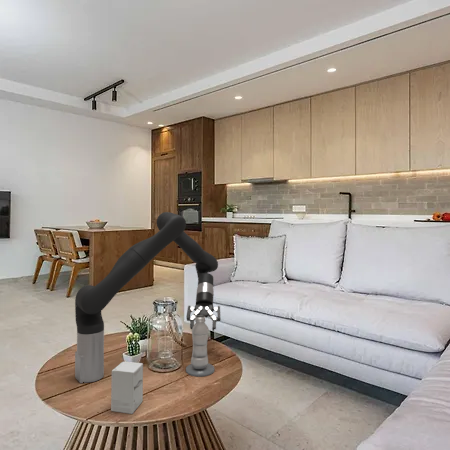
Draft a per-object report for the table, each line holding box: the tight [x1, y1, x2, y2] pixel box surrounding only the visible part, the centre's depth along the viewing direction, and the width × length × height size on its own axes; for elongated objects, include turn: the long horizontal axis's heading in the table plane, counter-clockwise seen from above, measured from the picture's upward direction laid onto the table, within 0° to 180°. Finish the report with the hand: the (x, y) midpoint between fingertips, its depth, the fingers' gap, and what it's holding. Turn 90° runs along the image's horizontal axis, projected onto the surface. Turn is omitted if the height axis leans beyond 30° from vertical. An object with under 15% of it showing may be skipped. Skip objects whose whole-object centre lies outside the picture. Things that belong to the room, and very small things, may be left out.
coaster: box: [185, 362, 215, 378], centre depth 137 cm, size 11×11×1 cm
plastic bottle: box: [190, 315, 210, 369], centre depth 137 cm, size 6×7×20 cm
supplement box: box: [110, 361, 144, 415], centre depth 111 cm, size 7×7×13 cm
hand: (202, 329), depth 146 cm, fingers open, 8 cm apart
